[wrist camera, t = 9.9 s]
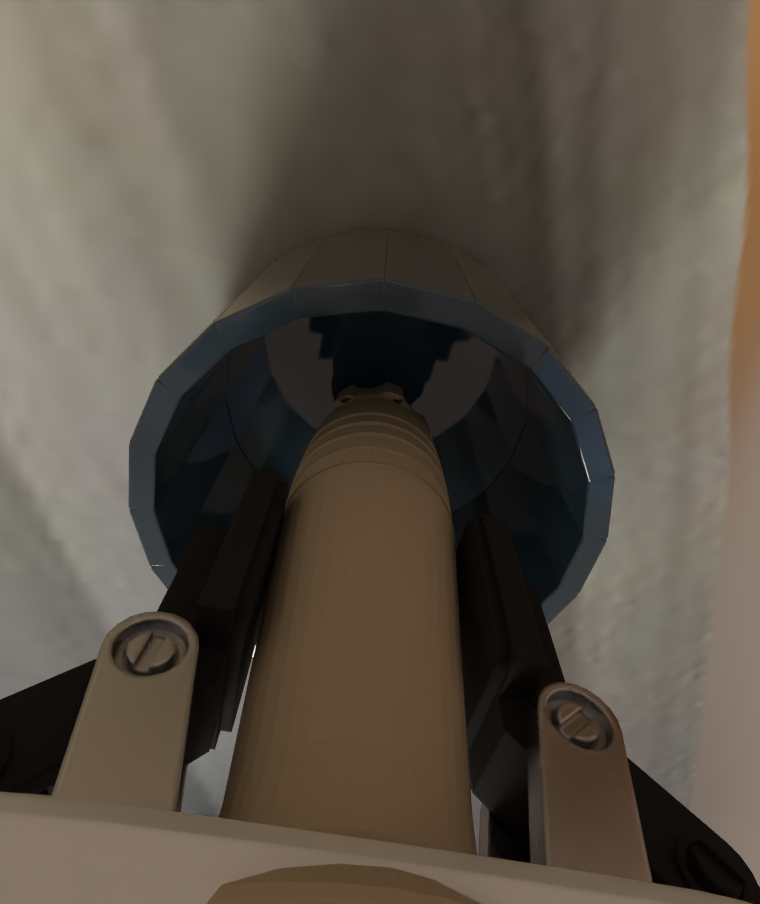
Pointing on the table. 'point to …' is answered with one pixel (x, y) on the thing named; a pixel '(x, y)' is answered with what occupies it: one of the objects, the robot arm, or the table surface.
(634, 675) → the table surface
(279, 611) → the handle
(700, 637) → the table surface
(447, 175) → the table surface
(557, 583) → the crock
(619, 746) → the robot arm
